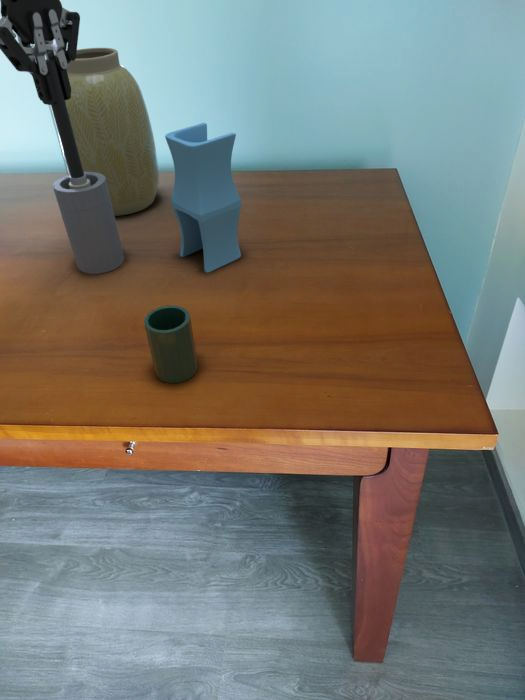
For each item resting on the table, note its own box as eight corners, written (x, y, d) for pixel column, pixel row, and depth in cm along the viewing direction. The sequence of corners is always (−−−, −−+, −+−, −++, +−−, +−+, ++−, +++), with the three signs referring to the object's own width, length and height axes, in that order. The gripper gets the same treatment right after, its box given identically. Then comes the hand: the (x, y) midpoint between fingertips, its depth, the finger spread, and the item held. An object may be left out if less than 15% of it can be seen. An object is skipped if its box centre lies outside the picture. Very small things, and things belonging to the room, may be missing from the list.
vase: (86, 228, 99) (42, 69, 81) (72, 195, 111) (31, 50, 94) (174, 209, 104) (150, 55, 86) (151, 179, 116) (126, 39, 99)
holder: (181, 388, 64) (171, 337, 59) (146, 374, 67) (134, 324, 62) (206, 362, 68) (198, 312, 63) (172, 350, 70) (163, 300, 65)
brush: (89, 224, 82) (45, 64, 68) (74, 220, 83) (28, 62, 69) (103, 216, 84) (64, 59, 70) (88, 212, 86) (47, 57, 71)
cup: (102, 278, 85) (79, 195, 76) (67, 267, 88) (41, 186, 79) (133, 256, 90) (115, 176, 81) (99, 246, 93) (79, 168, 84)
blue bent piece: (244, 255, 89) (236, 133, 76) (207, 273, 85) (192, 147, 72) (216, 239, 93) (204, 122, 81) (179, 255, 90) (160, 134, 77)
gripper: (38, -60, 68) (74, 87, 79) (-58, -52, 59) (-2, 112, 70) (80, -61, 65) (111, 91, 76) (-14, -53, 56) (37, 118, 67)
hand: (57, 101), depth 73 cm, fingers closed on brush, 2 cm apart
